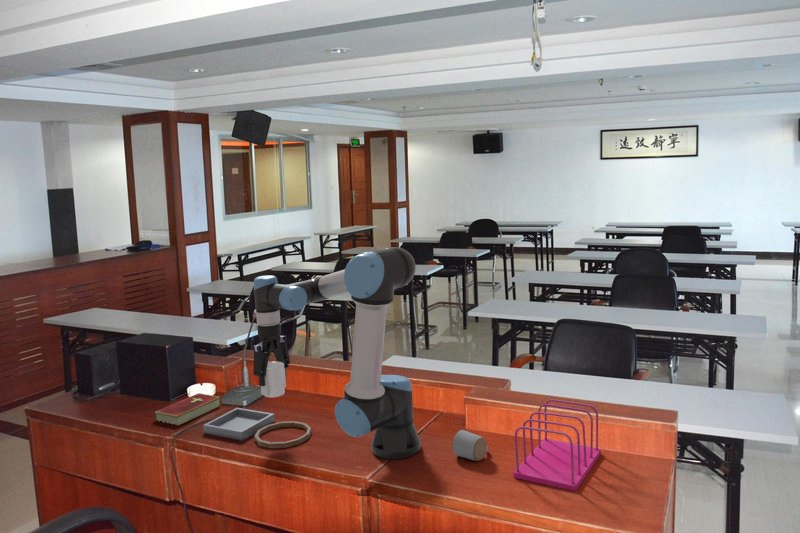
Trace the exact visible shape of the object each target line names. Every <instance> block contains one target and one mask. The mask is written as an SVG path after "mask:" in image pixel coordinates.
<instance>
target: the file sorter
mask: <svg viewBox="0 0 800 533" xmlns="http://www.w3.org/2000/svg"><path fill="white" fill-rule="evenodd" d="M551 402H555V403H556V402H557V403H563V404H569V405H574V406H575V405H576V406H582V407H588V408H591V409H592V410H593V411H594V413H595V420H596V421H595V425H596V426H595V447H594V446H593V444H594V443H593V442H594V440H593V439H594V418H593V416H592V414H591V413H590V412H589V411H588V410H586V409H582V408H577V407H570V406H564V405H557V404H552V403H551ZM543 407H544V412H543V411H541V410H542V408H543ZM548 407H552V408H559V409H564V410H571V411H577V412H582V413H585V414H587V415H588V416H589V419H590V445H589V446H587V444H586V443H587V441H586V428H585V423H584V421H583V420H582V419H581V418H580V417H578V416H576V415H567V414H561V413H560V414H559V413H552V412H548V411H547V408H548ZM534 415H537V416H538V419H535V418H533V416H534ZM541 415H544V420H541ZM547 416H552V417H553V416H554V417H561V418H566V419H567V418H568V419H575V420H577V421H578V422H580V424H581V428H582V440H583V444H582V445H581V440H580V432H579V430H578V428H576V427H575V426H574V425H571V424H567V423H561V422H555V421H549V420H548V419H547V418H548V417H547ZM533 422H535V423H538V424H537V425H538V428H537V427H533V424H532V423H533ZM527 423H529V426H526V425H527ZM541 424H544V429H543V428H541ZM548 425H555V426H562V427H566V428H567V427H568V428H571V429H572V430H574V431H575V434H576V438H577V443H573V440H572V438H571V437H570V435H569V434H567V433H566V432H563V431H556V430H551V429H550V430H549V429H548ZM520 430H522V442H523V446H522V447H523V459H524V460H523V461H522V462H521V463H519V449H518V433H519V431H520ZM526 430H529V437H530V453H529V455H528V456H527V448H526V445H527V444H526V442H527V440H526ZM533 431H537V432H538V435H537V436H538V445H537V446H536V447H535V448H534V440H533ZM541 432H543V433H544V437H545V438H543V439H542V438H541ZM548 433H550V434H556V435H561V436H563V437H564V436H565V437H566V438H567V439H568V441H569V442H566V441H561V440H555V439H549V438H548ZM514 446H515V448H514V449H515V450H514V451H515V464H516V465H515V466H516V467H515V468H516V469H515V470H513V478H514V479H518V480H524V481H528V482H532V483H536V484H542V485H546V486H549V487H550V486H551V487H554V488H558V489H563V490H568V491H572V492H576V491H577V490H578V488H579V487H580V486H581V484H582V483H583V481H584V480H585V479H586V477H587V475H588V474H589V473H590V472H591V469H592V468H593V467H594V465H595V464H596V462H597V461H598V460H599V458H600V456H601V455H602V448H599V412H598V409H597V408H595V407H594V405H591V404H587V403H581V402H575V401H568V400H561V399H554V398H552V399H548V400H547V401H546V402H545V403H542V405H540V406H539V407H538V411H534V412H532V413H531V414H530V416H529V418H528V419H526V420H525V421H524V422H523V424H522V426H519V427H517V428H516V429H515V432H514Z"/></svg>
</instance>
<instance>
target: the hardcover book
mask: <svg viewBox="0 0 800 533" xmlns="http://www.w3.org/2000/svg"><path fill="white" fill-rule="evenodd" d="M220 399H221V396H217V395H211V394H206V393H195V394H194V395H191V396H188V397H186V398H184V399H182V400H180V401H177V402H175V403H172V404H170V405H168V406H166V407H163V408H161V409H159V410H156V411H154V416H153V417H154V421H155V422H160V421H162V422H161V423H165V422H166V423H165V424H169V423H170V424H171V425H174V424H175V426H180V425H182V424H185V423H187V422H189V421H191V420H193V419H195V418H197V417H200V416H201V415H203V414H206V413H208V412H210V411H213V410H214V409H216V408H219V407H220V406H221V404H220ZM157 420H158V421H157ZM170 424H169V425H170Z"/></svg>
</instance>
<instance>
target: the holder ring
mask: <svg viewBox="0 0 800 533" xmlns="http://www.w3.org/2000/svg"><path fill="white" fill-rule="evenodd" d="M289 427H290V428H291V427H293V428H294V427H295V428H298V429H303V430H305V431H306V433H305V434H303V435H301V436H300V437H298V438H295V439H291V440H286V441H275V442H273V441H272V442H270V441H267V440H264V439H263V440H262V439H261V438H260V437H261V436H262V435H263V434H265V433H267V432H269V431H270V430H275V429H279V428H289ZM311 435H312V428H311V427H310V426H309V424H307V423H305V422H301V421H296V420H295V421H291V420H290V421H279V422H274V423H272V424H270V425H267V426H265V427H263V428H261V429H259V430H258V431H257V433H255V434H254V435H253V436H254V441H255V443H256V442H257V443H256V444H257V445H258V446H259V447H264V448H268V449H282V448H283V449H284V448H289V447H293V446H297V445H300V444H302V443H304V442H305V441H307V440H309V439H310V437H311Z"/></svg>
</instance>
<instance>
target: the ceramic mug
mask: <svg viewBox="0 0 800 533" xmlns="http://www.w3.org/2000/svg"><path fill="white" fill-rule="evenodd" d="M451 447H452V451H453V455H455V456H458V457H461V458H463V459H467V460H470V461H473V462H474V461H475V462H478V461H481V460H483V459H484V457H485V456H486V454H487V452H488V450H489V447H488V443H487V440H486V439H485V438H484V437H483V436H481V435H478V434H475V433H472V432H471V431H467V430H464V429H460V430H459V431H457V432H456V433H455V435H454V438H453V441H452V446H451Z"/></svg>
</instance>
